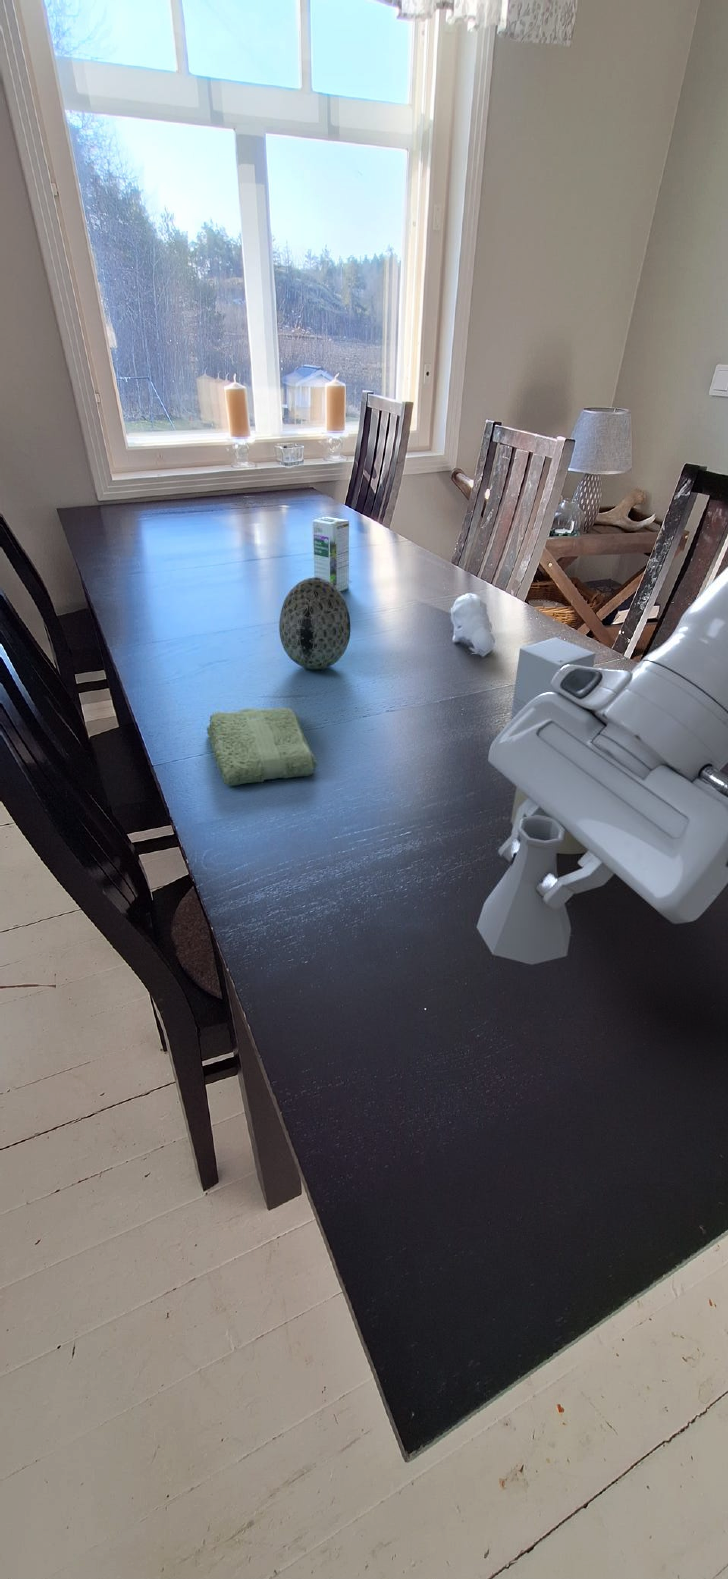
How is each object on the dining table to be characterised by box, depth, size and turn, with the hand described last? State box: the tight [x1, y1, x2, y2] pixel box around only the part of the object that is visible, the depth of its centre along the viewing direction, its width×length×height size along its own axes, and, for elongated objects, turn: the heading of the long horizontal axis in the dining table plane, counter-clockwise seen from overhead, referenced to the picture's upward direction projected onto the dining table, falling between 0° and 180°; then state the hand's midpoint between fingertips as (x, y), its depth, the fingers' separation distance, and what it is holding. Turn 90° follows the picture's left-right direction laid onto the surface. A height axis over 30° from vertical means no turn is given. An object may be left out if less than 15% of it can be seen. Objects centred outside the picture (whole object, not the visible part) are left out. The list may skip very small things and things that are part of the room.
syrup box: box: [312, 516, 350, 593], centre depth 147 cm, size 6×6×14 cm
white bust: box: [450, 592, 496, 658], centre depth 123 cm, size 6×8×12 cm
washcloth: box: [206, 707, 318, 787], centre depth 93 cm, size 13×18×3 cm
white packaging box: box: [509, 636, 597, 722], centre depth 96 cm, size 7×7×13 cm
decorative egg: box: [278, 576, 352, 671], centre depth 113 cm, size 12×12×15 cm
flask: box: [476, 815, 572, 966], centre depth 51 cm, size 7×7×10 cm
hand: (525, 880), depth 50 cm, fingers closed on flask, 3 cm apart
